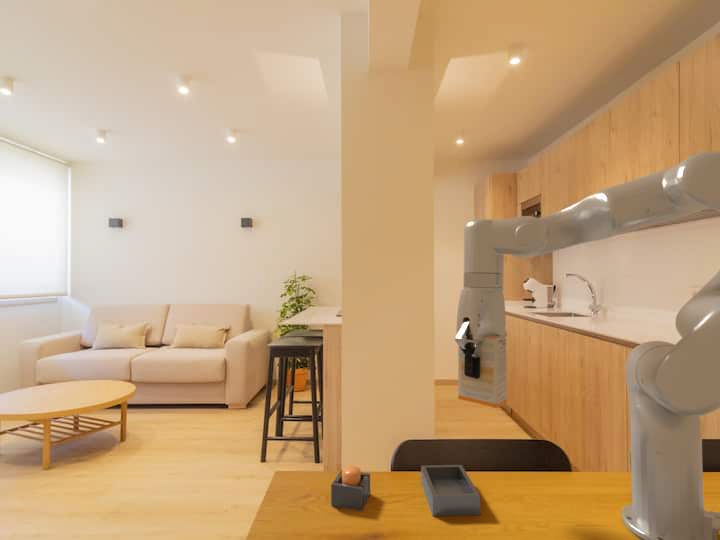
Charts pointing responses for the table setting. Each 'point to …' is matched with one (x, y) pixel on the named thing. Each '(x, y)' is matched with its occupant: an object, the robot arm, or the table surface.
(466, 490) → the tray
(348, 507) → the button housing
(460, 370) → the supplement box
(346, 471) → the button
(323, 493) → the table surface
